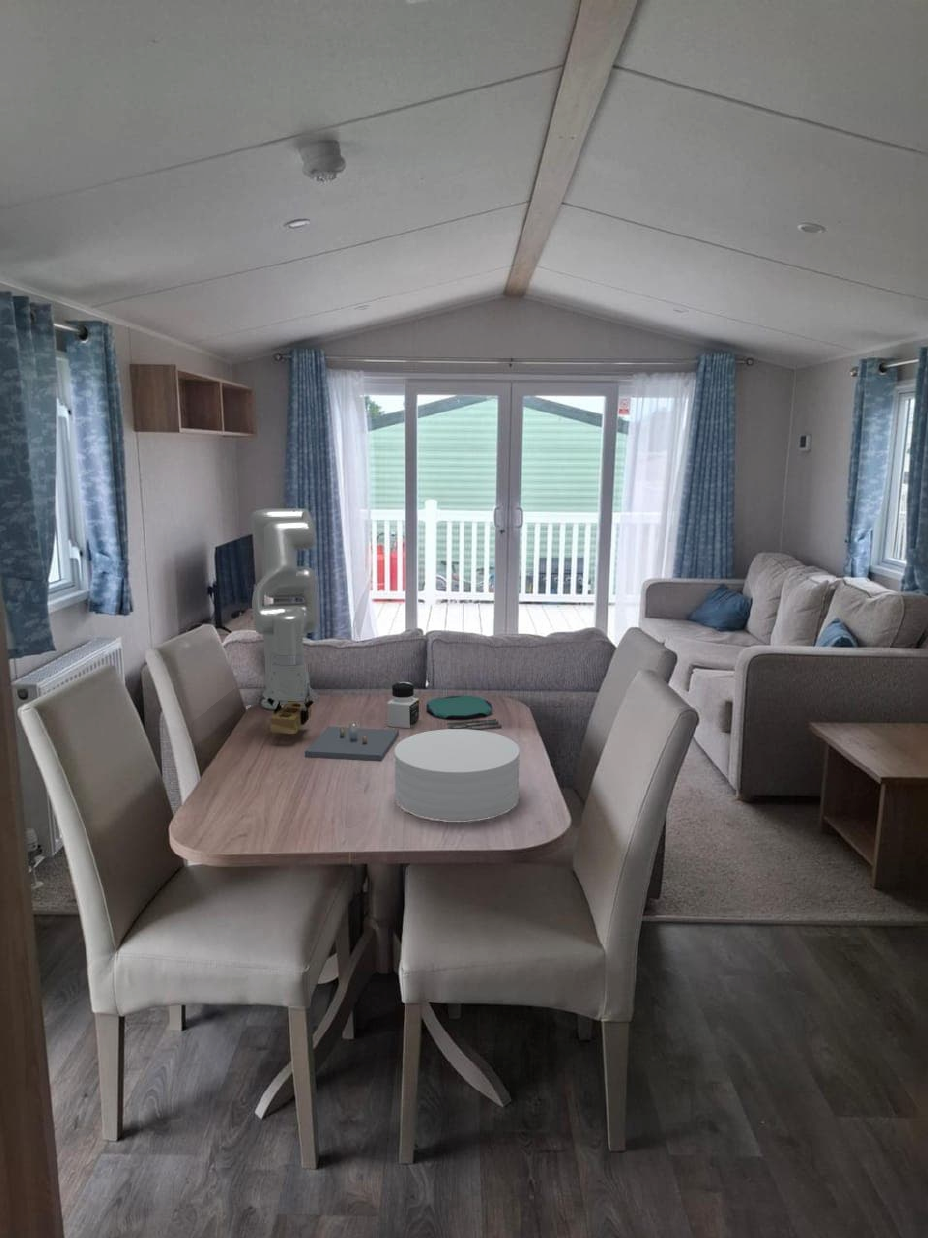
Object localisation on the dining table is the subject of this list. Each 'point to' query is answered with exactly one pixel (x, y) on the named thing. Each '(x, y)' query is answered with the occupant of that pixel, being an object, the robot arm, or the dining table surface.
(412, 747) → the plate stack
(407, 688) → the medicine bottle
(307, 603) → the robot arm
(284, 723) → the tan slatted rectangular block
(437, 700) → the cutlery set
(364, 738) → the pegs
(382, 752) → the slate board
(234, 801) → the dining table surface
